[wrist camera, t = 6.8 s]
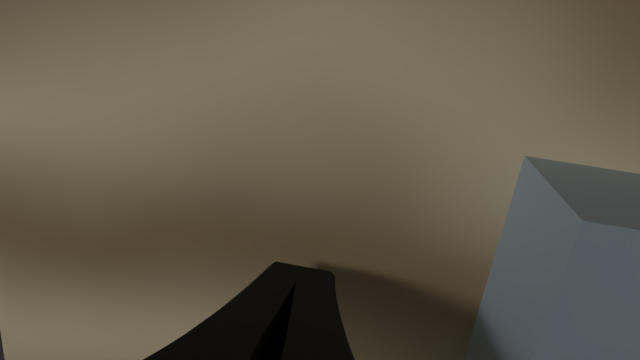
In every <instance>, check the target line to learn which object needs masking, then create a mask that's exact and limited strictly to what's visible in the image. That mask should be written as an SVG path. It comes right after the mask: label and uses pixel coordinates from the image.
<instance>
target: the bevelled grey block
mask: <svg viewBox="0 0 640 360" xmlns="http://www.w3.org/2000/svg"><path fill="white" fill-rule="evenodd" d="M464 360H640V174H638V173H631V172H625V171H619V170H612V169H606V168H600V167H593V166H587V165H580V164H574V163H568V162H561V161H555V160H548V159H542V158H536V157H529V156H524V159H523V162H522V166H521V169H520V172H519V176H518V179H517V183H516V186H515V189H514V193H513V196H512V199H511V203H510V206H509V209H508V213H507V216H506V220H505V223H504V226H503V230H502V233H501V236H500V240H499V243H498V246H497V250H496V253H495V257H494V260H493V263H492V267H491V270H490V273H489V277H488V280H487V283H486V287H485V290H484V294H483V297H482V300H481V304H480V307H479V310H478V314H477V317H476V320H475V324H474V327H473V331H472V334H471V337H470V341H469V344H468V347H467V351H466V354H465V357H464Z"/></svg>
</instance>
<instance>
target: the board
mask: <svg viewBox="0 0 640 360" xmlns="http://www.w3.org/2000/svg"><path fill="white" fill-rule="evenodd" d="M524 156H529V157H536V158H542V159H548V160H555V161H561V162H568V163H574V164H580V165H587V166H593V167H600V168H606V169H612V170H619V171H625V172H631V173H638V174H640V0H0V331H1V338H2V344H3V351H4V358H5V360H143V359H145V358H147V357H148V356H150V355H152V354H153V353H155V352H157V351H159V350H160V349H162V348H164V347H165V346H167V345H168V344H170V343H172V342H173V341H175V340H176V339H178V338H179V337H181V336H183V335H184V334H186V333H187V332H188V331H190V330H191V329H193V328H194V327H195V326H197V325H198V324H200V323H201V322H202V321H204V320H205V319H207V318H208V317H209V316H211V315H212V314H214V313H215V312H216V311H218V310H219V309H220V308H221V307H223V306H224V305H225V304H226V303H228V302H229V301H230V300H231V299H232V298H234V297H235V296H236V295H237V294H239V293H240V292H241V291H242V290H243V289H244V288H246V287H247V286H248V285H249V284H250V283H251V282H252V281H254V280H255V279H256V278H257V277H258V276H259V275H260V274H261V273H262V272H263V271H264V270H265V269H267V268H268V267H269V266H270V265H271V264H273V263H274V262H282V263H287V264H293V265H298V266H304V267H309V268H314V269H320V270H325V271H331V272H332V273H333V275H334V276H335V290H336V298H337V303H338V308H339V312H340V316H341V320H342V323H343V327H344V330H345V333H346V337H347V340H348V343H349V346H350V348H351V351H352V354H353V357H354V359H355V360H464V357H465V354H466V351H467V347H468V344H469V341H470V337H471V334H472V331H473V327H474V324H475V320H476V317H477V314H478V310H479V307H480V304H481V300H482V297H483V294H484V290H485V287H486V283H487V280H488V277H489V273H490V270H491V267H492V263H493V260H494V257H495V253H496V250H497V246H498V243H499V240H500V236H501V233H502V230H503V226H504V223H505V220H506V216H507V213H508V209H509V206H510V203H511V199H512V196H513V193H514V189H515V186H516V183H517V179H518V176H519V172H520V169H521V166H522V162H523V159H524Z"/></svg>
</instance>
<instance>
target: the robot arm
mask: <svg viewBox="0 0 640 360" xmlns="http://www.w3.org/2000/svg"><path fill="white" fill-rule="evenodd" d="M143 360H355V359H354V357H353V354H352V351H351V348H350V346H349V343H348V340H347V337H346V333H345V330H344V327H343V323H342V320H341V316H340V312H339V308H338V303H337V298H336V290H335V276H334V275H333V273H332V272H331V271H325V270H320V269H314V268H309V267H304V266H298V265H293V264H287V263H282V262H274V263H273V264H271V265H270V266H269V267H268V268H267V269H265V270H264V271H263V272H262V273H261V274H260V275H259V276H258V277H257V278H256V279H255V280H254V281H252V282H251V283H250V284H249V285H248V286H247V287H246V288H244V289H243V290H242V291H241V292H240V293H239V294H237V295H236V296H235V297H234V298H232V299H231V300H230V301H229V302H228V303H226V304H225V305H224V306H223V307H221V308H220V309H219V310H218V311H216V312H215V313H214V314H212V315H211V316H209V317H208V318H207V319H205V320H204V321H202V322H201V323H200V324H198V325H197V326H195V327H194V328H193V329H191V330H190V331H188V332H187V333H186V334H184V335H183V336H181V337H179V338H178V339H176V340H175V341H173V342H172V343H170V344H168V345H167V346H165V347H164V348H162V349H160V350H159V351H157V352H155V353H153V354H152V355H150V356H148V357H147V358H145V359H143Z"/></svg>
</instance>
